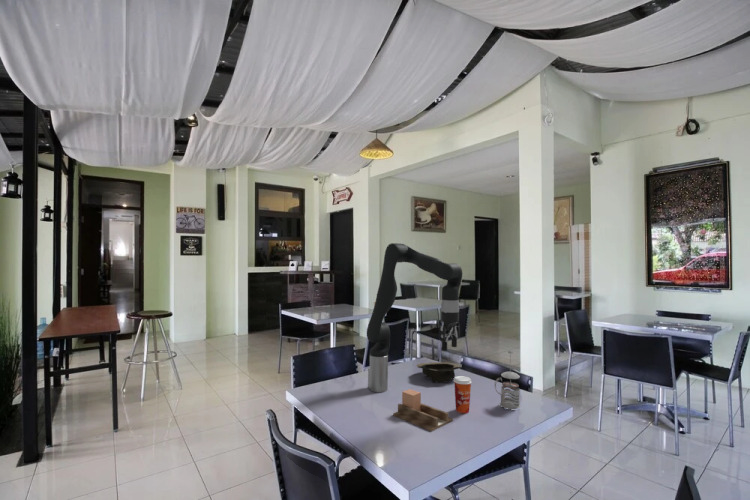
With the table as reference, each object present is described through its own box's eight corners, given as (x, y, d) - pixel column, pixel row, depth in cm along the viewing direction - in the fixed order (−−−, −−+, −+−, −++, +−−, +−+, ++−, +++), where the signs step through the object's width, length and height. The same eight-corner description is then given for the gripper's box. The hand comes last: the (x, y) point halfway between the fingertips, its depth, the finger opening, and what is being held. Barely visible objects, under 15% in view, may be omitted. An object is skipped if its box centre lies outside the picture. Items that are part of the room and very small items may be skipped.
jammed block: (402, 410, 160) (402, 391, 160) (409, 407, 163) (409, 389, 163) (412, 415, 155) (413, 395, 155) (420, 411, 159) (420, 392, 159)
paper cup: (458, 415, 158) (458, 381, 159) (450, 408, 166) (450, 376, 166) (475, 413, 160) (475, 380, 161) (466, 406, 168) (466, 375, 168)
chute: (393, 415, 157) (393, 406, 157) (414, 406, 167) (414, 397, 167) (431, 431, 143) (431, 421, 143) (452, 421, 152) (452, 411, 153)
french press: (524, 411, 163) (524, 353, 164) (496, 409, 165) (496, 352, 166) (519, 403, 173) (519, 348, 173) (493, 400, 175) (493, 347, 176)
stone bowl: (443, 388, 191) (442, 369, 192) (407, 380, 209) (406, 363, 210) (471, 377, 208) (469, 360, 208) (435, 371, 226) (434, 355, 227)
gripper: (450, 308, 167) (449, 344, 167) (433, 311, 156) (433, 350, 156) (465, 309, 162) (465, 347, 162) (449, 313, 151) (449, 353, 151)
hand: (449, 348), depth 159 cm, fingers open, 8 cm apart
